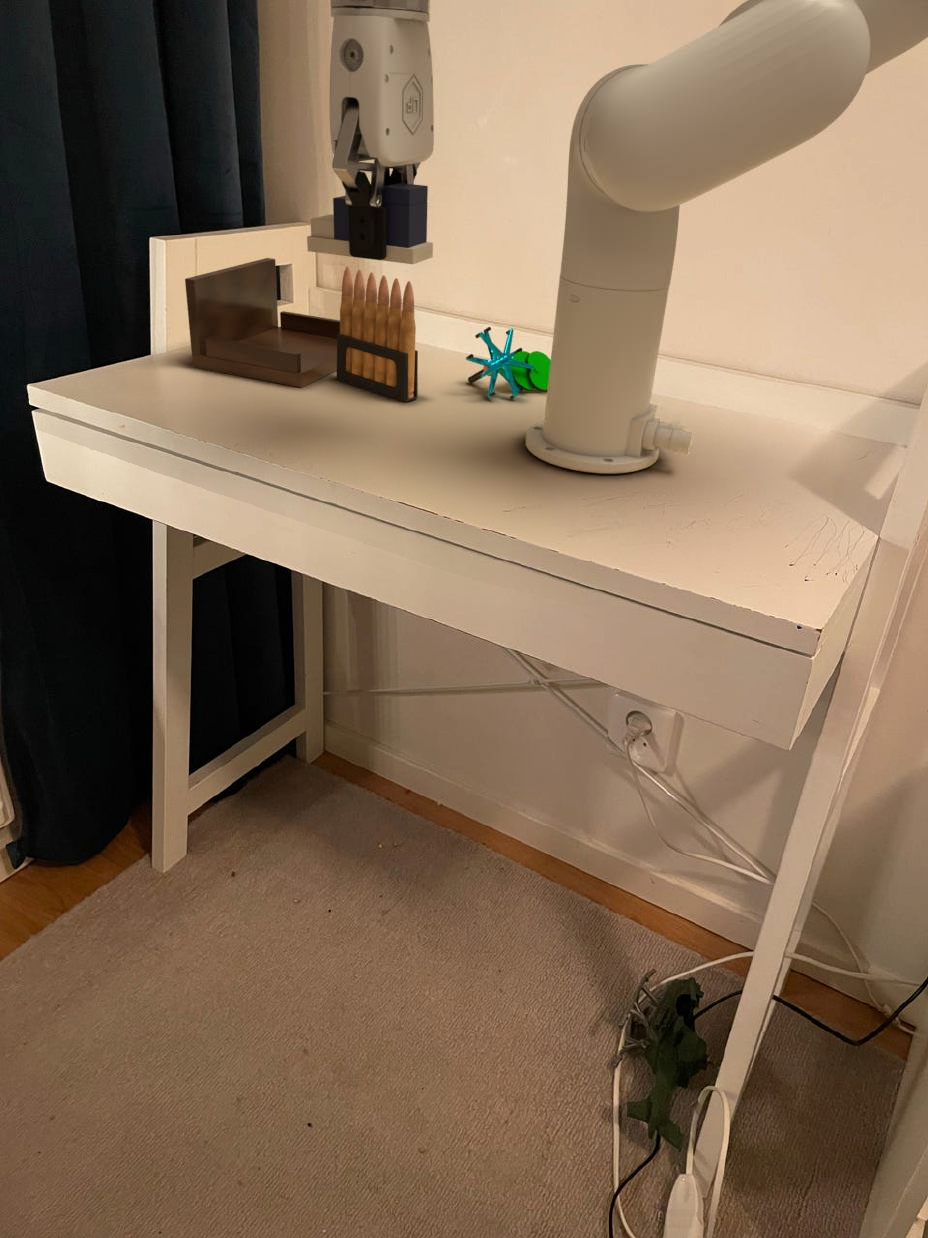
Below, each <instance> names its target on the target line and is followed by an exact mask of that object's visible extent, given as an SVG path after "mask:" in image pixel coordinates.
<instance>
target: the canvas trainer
mask: <svg viewBox="0 0 928 1238" xmlns="http://www.w3.org/2000/svg"><path fill="white" fill-rule="evenodd" d="M428 189H429V186H428V185H424V184H423V185H422V184H415V183H414V184H404V183H399V184H393V185H388V186H383V195H382V204H381V207H385V208H386V258H385V259H383V260H381V261H383V262H390V263H391V262H392V263H399V264H407V265H415V264H418V263H420V262H423V261H426V260H429V259H432V258H433V256H434V254H433V252H434V242H431V241H427V238H428V193H429V190H428ZM332 209H333V210H332V211H333V213H332V214H330V213H329V214H326V215H322V216H321V215H320V216H317V217H313V218H310V235H308V236H306V243H307V244H306V245H307V252H311V253H318V254H326V255H334V256H341V257H350V258H353V257H352V256H351V255H350V252H349V205H347V204H346V201H345V195H342V196H335V197H333V198H332Z"/></svg>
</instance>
